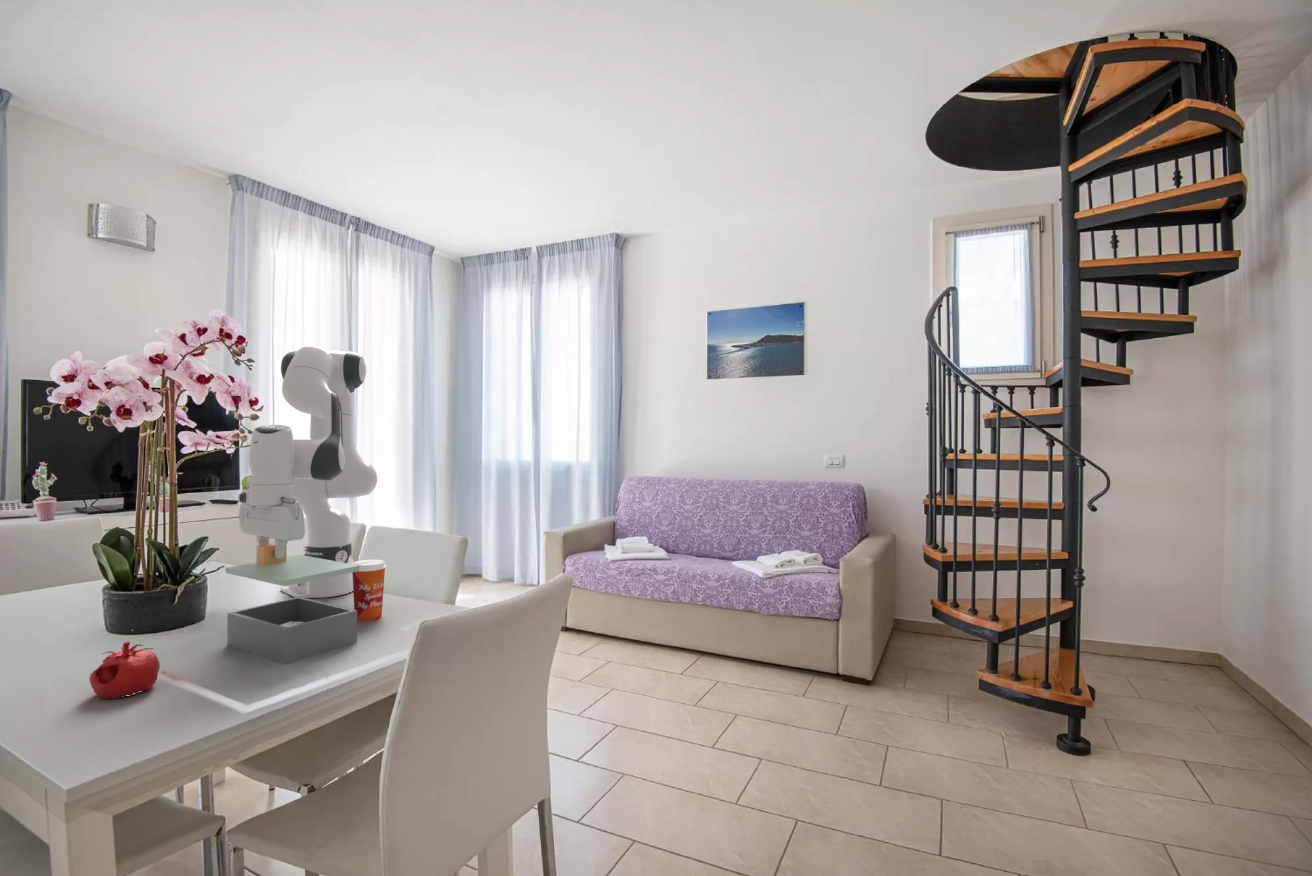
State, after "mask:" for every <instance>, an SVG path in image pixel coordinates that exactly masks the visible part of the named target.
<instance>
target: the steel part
mask: <svg viewBox="0 0 1312 876" xmlns="http://www.w3.org/2000/svg"><path fill="white" fill-rule="evenodd" d="M302 623H306V622H294V621H290V622H287V623H285V624H282V625H280V626H284V627H291V626H295V625H299V624H302Z"/></svg>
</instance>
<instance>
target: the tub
mask: <svg viewBox="0 0 1312 876" xmlns="http://www.w3.org/2000/svg"><path fill="white" fill-rule="evenodd" d="M290 621H294V622H306V623H302V624H299V625H295V626H291V627H284V626H280V625H282V624H285V623H287V622H290ZM226 623H227V628H226V629H227V631H226V632H227V636H226V637H227V642H226V644H227V646H229V647H232V648H234V649H235V648H236V649H238V650H241V651H245V652H246V653H251V654H254V655H256V656H259V657H262V658H265V659H268V660H272V661H274V662H277V663H280V664H283V665H287V664H290V663H294V662H297V661H301V660H303V659H306V658H309V657H313V656H315V655H320V654H322V653H325V652H326V653H327V652H328V651H331V650H336V649H338V648H341V647H344V646H348V645H350V644H355V643H357V642H358V620H357V610H354V609H352V608H349V607H345V606H341V605H336V604H332V603H327V602H323V601H320V600H314V599H312V598H303V597H296V598H295V597H292V598H287V599H284V600H280V601H275V602H271V603H270V602H269V603H266V604H262V605H257V606H252V607H248V608H244V609H239V610H235V611H230V612H227V622H226Z"/></svg>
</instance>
